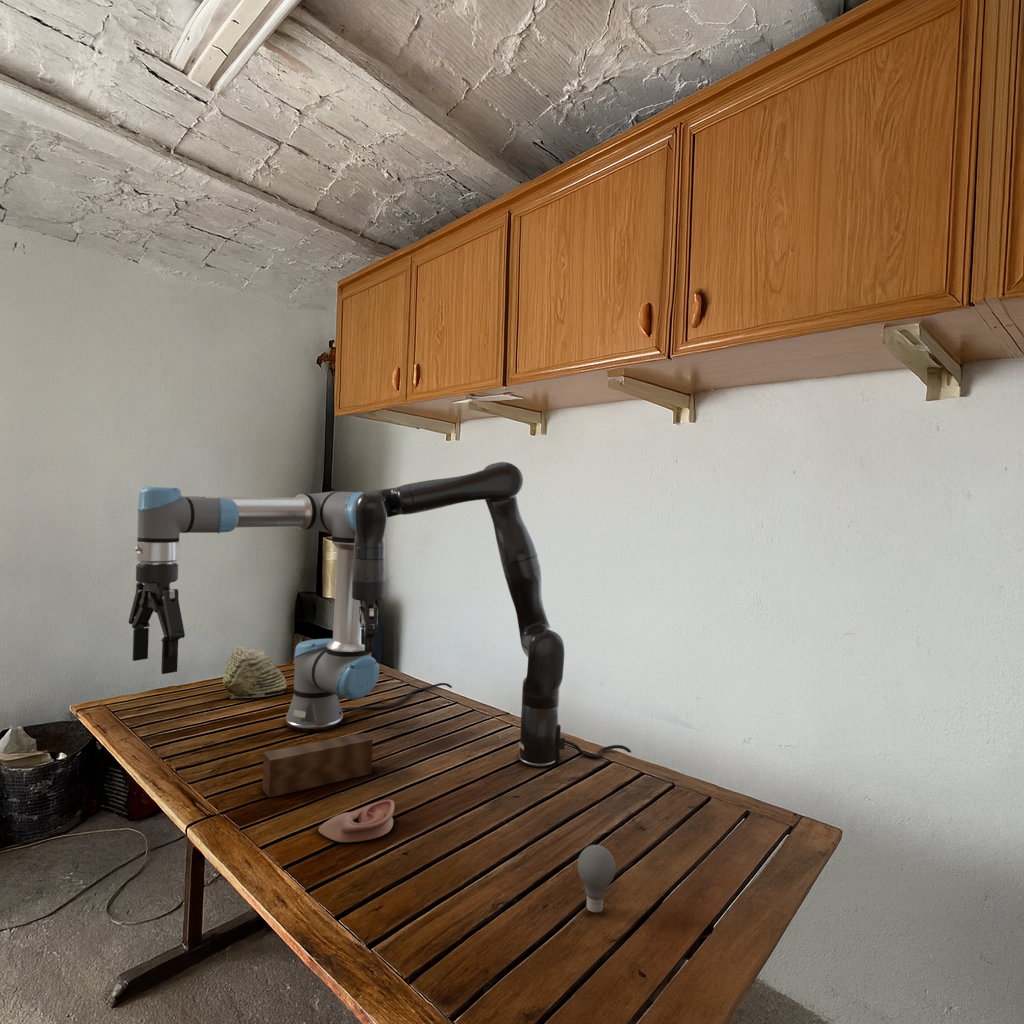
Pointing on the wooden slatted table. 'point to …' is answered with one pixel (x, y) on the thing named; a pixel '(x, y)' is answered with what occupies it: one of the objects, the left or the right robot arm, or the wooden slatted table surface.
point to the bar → (316, 764)
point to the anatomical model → (360, 823)
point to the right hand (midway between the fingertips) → (367, 648)
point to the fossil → (252, 674)
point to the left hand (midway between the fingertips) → (154, 666)
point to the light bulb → (596, 874)
